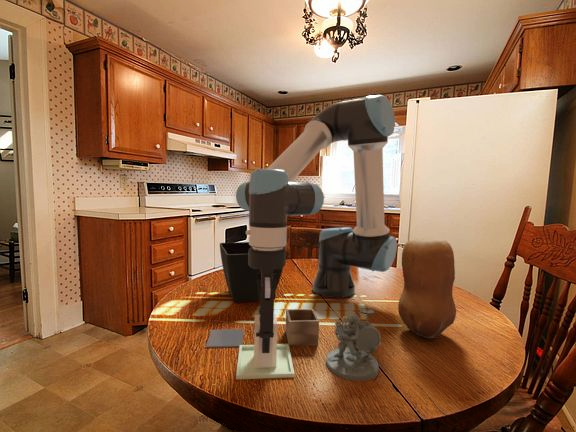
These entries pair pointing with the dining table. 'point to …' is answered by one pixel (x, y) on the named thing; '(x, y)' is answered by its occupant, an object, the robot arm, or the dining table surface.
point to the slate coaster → (225, 338)
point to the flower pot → (241, 272)
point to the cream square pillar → (256, 342)
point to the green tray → (249, 372)
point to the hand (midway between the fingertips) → (264, 358)
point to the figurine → (355, 349)
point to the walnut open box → (302, 327)
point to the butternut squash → (427, 287)
